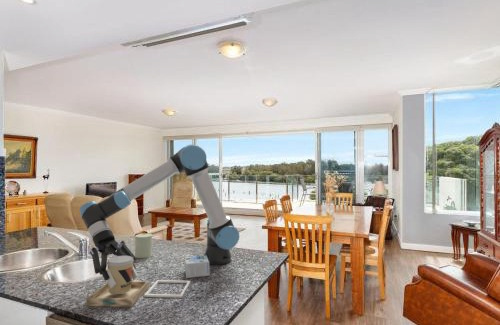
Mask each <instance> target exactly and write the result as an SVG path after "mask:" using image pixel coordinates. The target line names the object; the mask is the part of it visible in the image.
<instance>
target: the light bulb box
mask: <svg viewBox="0 0 500 325" xmlns="http://www.w3.org/2000/svg"><path fill="white" fill-rule="evenodd" d="M184 272H185V278H186V279H188V278H189V279H192V278H199V277H200V278H201V277H209V276H210V274H211V273H210V264H209V261H208V258H207V256H204V255H197V256H185V257H184Z"/></svg>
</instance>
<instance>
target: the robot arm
mask: <svg viewBox="0 0 500 325" xmlns="http://www.w3.org/2000/svg"><path fill="white" fill-rule="evenodd" d="M209 168H210V166H209V163H208V161H207V154H206V151H205V150H204V148H202V147H201V146H200V145H198V144H197V145H196V144H188V145H187V144H186V146H184V147H182V148H181V149H179V150H178V151H177V152H175V154H173V155H171V156H170V157H168V159H167V161H166V162H164V163H162V164H161V165H159V166H157V167H155V168H154V169H152V170H151V171H148V172H146V173H145V174H143V175H142V176H140V177H139V178H136V179H135V180H134V181H131V183H128V184H126V185H125V186H123V187H121V188H120V189H118V190H117V191H114V192H112V193H111V194H110V195H109V196H108V197H107V198H105V199H103V200H102V201H100V202H97V201H94V200H93V201H89V202H85V203H83V204H82V205H81V206H80V208H79V213H80V216H81V219H82V221H83V223H84V225H85V226H86V229H87V231H88V233H89V235H90V237H91V239H92V243H93V244H94V246H95V247H92V248H91V249H90V250H89V254H90V255H91V259H92V264H93V269H94V274H96V275H97V274H99V275H100V276H102V277H103V280H104V281H106V282H108V283H109V286H110V288H113V287H114V286H115V285H116V283H115V281H114V278H113V276H112V274H111V272H110V270H109V269H108V264H107V262H108V256H109V255H113V256H115V257H116V256H131V257H133V259H134V261H136V259H137V258H136V257H135V254H134V253H133V252H132V251H131V249H129V247H128V246H127V245H126V242H125V240H121V241H119V242H118V241H116V238H115V234H114V233H113V231H112V230H111V227H110V225H109V224H108V221H107V219H108V218H110V217H112V216H113V215H115V214H117V213H118V212H120V211H122V210H124V209H126V208H127V207H129V206H130V205H131V204H132V201H133V200H135V199H136V198H139V197H140V196H142V195H143V194H145V193H146V192H148V191H150V190H151V189H153V188H154V187H155V188H156V187H157V186H158V185H160V184H162V183H163V182H165V181H166V180H168V179H169V178H171V177H173V176H174V175H176V174H179V175H180V174H181V173H183V172H184V173H185V175H186V177H188V179H191V181H192V184H193V186H194V188H195V191H196V194H197V196H198V198H199V200H200V202H201V205H202V208H203V209H204V212H205V214H206V216H207V221H206V228H207V229H206V248H205V251H204V255H203V256H207V258H208V261H209V265H215V266H216V265H225V264H228V263H231V261H232V254H231V250H230V249H232V248H235V246H237V244H238V243H239V240H240V232H239V230H238V229H237V227H235V226H234V222H233V221H232V219H231V216H229V215H227V214H226V212H225V210H224V207H223V205H222V202H221V199H220V197H219V196H218V193H217V190H216V188H215V185H214V183H213V181H212V178H211V177H210V173H209ZM99 253H101V256H100V257H99ZM100 259H101V260H100ZM134 261H133V269H132V281H136V279H137V278H138V277H139V274H138V272H137V270H136V269H137V267H136V266H135V263H134Z"/></svg>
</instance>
